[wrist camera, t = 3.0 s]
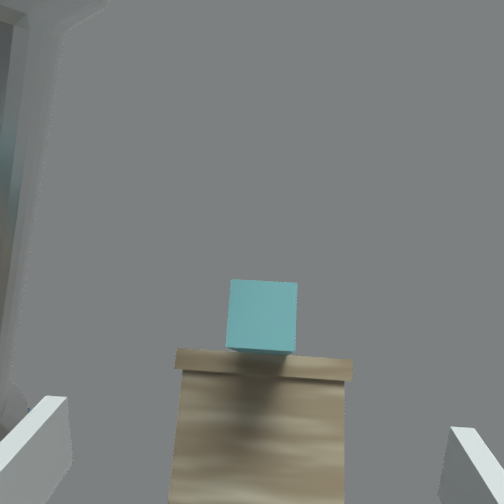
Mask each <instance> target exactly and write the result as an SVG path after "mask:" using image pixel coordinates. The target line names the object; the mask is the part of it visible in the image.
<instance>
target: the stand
mask: <svg viewBox="0 0 504 504" xmlns="http://www.w3.org/2000/svg"><path fill="white" fill-rule="evenodd" d="M175 369H183V372H182V381H181V390H180V399H179V408H178V417H177V426H176V435H175V445H174V455H173V463H172V472H171V481H170V490H169V500H168V504H344V381H352V379H353V376H352V360H350V359H349V360H348V359H334V358H319V357H303V356H288V355H274V354H259V353H244V352H229V351H214V350H199V349H182V348H177V353H176V361H175Z"/></svg>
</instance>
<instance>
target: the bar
mask: <svg viewBox="0 0 504 504" xmlns="http://www.w3.org/2000/svg"><path fill="white" fill-rule="evenodd" d="M230 289H231V290H230V301H229V313H228V325H227V337H226V347H227V348H230V349H233V350H236V351H238V352H244V353H259V354H274V355H289V354H291V353H293V352H295V337H296V306H297V283H289V282H270V281H253V280H235V279H231V288H230Z"/></svg>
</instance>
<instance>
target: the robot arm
mask: <svg viewBox="0 0 504 504" xmlns="http://www.w3.org/2000/svg"><path fill="white" fill-rule="evenodd" d="M110 1H111V0H0V504H45V503H46V502H47V500H48V499H49V497H50V496H51V494H52V493H53V491H54V490H55V489H56V487H57V486H58V484H59V483H60V481H61V480H62V478H63V477H64V475H65V474H66V472H67V471H68V469H69V468H70V466H71V465H72V464H73V457H72V446H71V435H70V425H69V414H68V404H67V397H56V396H45V397H44V398H43V399H42V400H41V401H40V402H39V403H38V404H37V405H36V406H35V407H34V408H33V409H32V410H30V409H29V408H28V409H27V402H26V400H25V397H24V395H23V393H22V391H21V390H20V388H19V387H18V386H17V385H16V384H15V383H14V382H13V381H12V380H11V379H10V378H11V372H12V365H13V359H14V353H15V346H16V340H17V333H18V327H19V320H20V314H21V308H22V301H23V295H24V289H25V283H26V276H27V270H28V264H29V257H30V251H31V244H32V238H33V232H34V225H35V219H36V212H37V206H38V200H39V194H40V187H41V181H42V174H43V168H44V162H45V156H46V148H47V143H48V137H49V130H50V124H51V117H52V111H53V105H54V98H55V91H56V85H57V78H58V73H59V67H60V60H61V54H62V48H63V41H64V39H65V37H66V35H67V33H68V32H69V30H70V29H71V28H73V27H74V26H76V25H78V24H80V23H82V22H83V21H85V20H86V19H89V18H90V17H92V16H94V15H96V14H97V13H99V12H101V11H103V10H105V9H107V8H109V5H110ZM438 496H439V499H440V501H441V503H442V504H504V470H503V468H502V467H501V466H500V464H499V463H498V461H497V460H496V459H495V457H494V456H493V454H492V453H491V452H490V450H489V449H488V447H487V446H486V444H485V443H484V442H483V440H482V439H481V437H480V436H479V435H478V433H477V432H476V430H475V429H474V428H462V427H450V431H449V436H448V442H447V447H446V452H445V458H444V463H443V469H442V474H441V480H440V485H439V491H438Z"/></svg>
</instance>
